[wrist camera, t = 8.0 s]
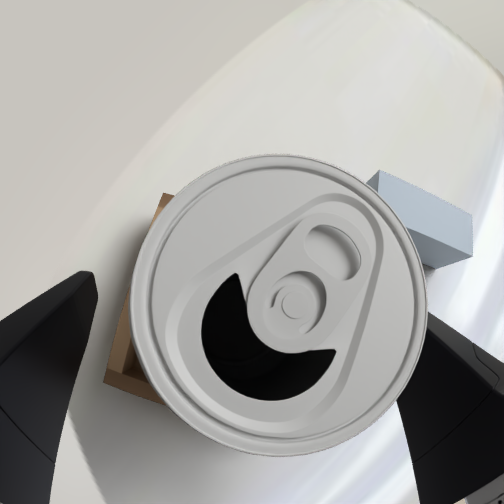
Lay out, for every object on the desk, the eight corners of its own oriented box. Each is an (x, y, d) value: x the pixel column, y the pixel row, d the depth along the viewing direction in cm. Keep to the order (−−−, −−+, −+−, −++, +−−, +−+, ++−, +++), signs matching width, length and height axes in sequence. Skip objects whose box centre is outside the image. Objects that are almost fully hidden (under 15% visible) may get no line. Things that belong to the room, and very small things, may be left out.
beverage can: (156, 328, 16) (40, 322, 4) (228, 240, 18) (263, 87, 6) (247, 399, 15) (322, 521, 4) (315, 309, 17) (476, 267, 6)
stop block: (436, 268, 20) (472, 256, 16) (346, 236, 19) (375, 214, 15) (438, 232, 21) (472, 215, 17) (352, 196, 20) (379, 169, 16)
